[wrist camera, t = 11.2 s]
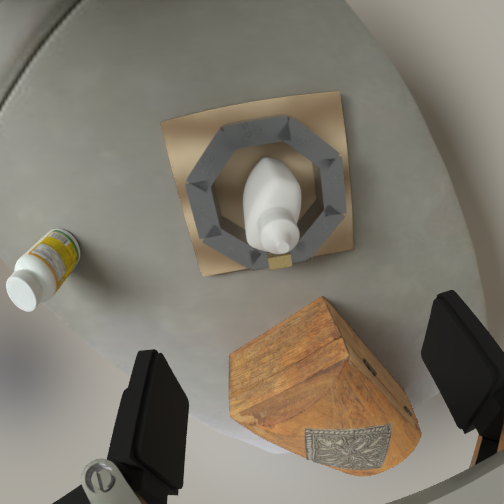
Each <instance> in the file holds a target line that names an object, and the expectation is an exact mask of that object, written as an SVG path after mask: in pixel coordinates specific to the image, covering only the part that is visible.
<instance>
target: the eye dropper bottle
mask: <svg viewBox="0 0 504 504" xmlns="http://www.w3.org/2000/svg"><path fill="white" fill-rule="evenodd" d="M243 209H244V221H245V231H246V238H247V242H248V243H249V245H250V246H252V247H253V248H256V249H259V250H262V251H267V252H271V253H273V254H284V253H287V252H289V251H291V250H292V249H293V248H294V247H295V246H296V244H298V241H299V237H300V236H299V235H300V234H299V233H300V232H299V229H298V226H297V221H298V218H299V214H300V209H301V188H300V185H299V183H298V182H297V180H296V178H295V177H294V175H293V174H292V172H291V171H290V170H289V168H288V167H287V165H286V164H285V163H284V162H282V161H280V160H277V159H274V158H271V157H264V158H262V159H261V160H260V161H259V162H258V163H257V164H256V165H255V166H254V168H253V169H252V171H251V172H250V174H249V176H248V178H247V181H246V184H245V188H244V194H243Z"/></svg>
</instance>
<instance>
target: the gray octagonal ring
mask: <svg viewBox="0 0 504 504" xmlns="http://www.w3.org/2000/svg"><path fill="white" fill-rule="evenodd" d="M280 141H284V142H285V143H287V144H288V145H289V146H291V147H292V148H294V149H295V150H296V151H298V152H299V153H301V154H302V155H303V156H305V157H306V158H307V159H309V160H310V161H311V162H312V167H313V175H314V183H315V192H316V200H315V201H314V202H313V204H312V205H311V206H310V208H309V209H308V210H307V211H306V213H305V214H304V215H303V216H302V218H301V219H300V220H299V221H298V223H297V226H298V229H299V232H300V233H299V234H300V235H299V236H300V237H299V241H298V244H296V246H295V247H294V248H293V249H292V250H291V251H289V252H287V253H284V254H273V253H271V252H267V251H262V250H259V249H256V248H253V247H252V246H250V245H249V243H248V242H247V238H246V231H245V229H243V228H241V227H240V226H238V225H237V224H235V223H233V222H232V221H230V220H228V219H227V218H225V217H223V216H222V213H221V209H220V205H219V200H218V196H217V192H216V188H215V183H214V181H215V179H216V178H217V176H218V175H219V173H220V172H221V170H222V169H223V168H224V166H225V165H226V163H227V162H228V160H229V159H230V157H231V156H232V154H233V153H234V152H235V150H236V149H240V148H245V147H250V146H256V145H262V144H268V143H274V142H280ZM339 154H340V153H339V152H337V151H336V150H335V149H334V148H332V147H331V146H330V145H329V144H327V143H326V142H325V141H324V140H322V139H321V138H320V137H318V136H317V135H316V134H315V133H313V132H312V131H311V130H309V129H308V128H307V127H305V126H304V125H303V124H301V123H300V122H298V121H297V120H296V119H294V118H293V117H292V116H288V115H284V114H278V115H271V116H265V117H259V118H253V119H247V120H242V121H237V122H231V123H226V124H224V126H223V127H222V126H221V127H220V129H219V130H218V132H217V133H216V134H215V136H214V137H213V139H212V140H211V142H210V143H209V145H208V146H207V148H206V149H205V151H204V153H203V154H202V156H201V157H200V159H199V160H198V162H197V163H196V165H195V166H194V168H193V170H192V171H191V173H190V174H189V176H188V178H187V179H186V181H187V182H186V184H185V187H186V191H187V195H188V198H189V202H190V206H191V210H192V213H193V217H194V221H195V225H196V228H197V232H198V235H199V239H203V240H202V243H204V244H206V245H208V246H209V247H211V248H213V249H214V250H216V251H218V252H220V253H221V254H223V255H225V256H227V257H228V258H230V259H232V260H233V261H235V262H237V263H239V264H240V265H242V266H244V267H246V268H247V269H250V268H251V267H253V270H257V269H263V268H270V270H274V269H280V268H285V267H291V266H292V263H296V262H302V261H307V257H309V258H310V259H311V257H312V256H313V255H314V254H315V253H316V251H317V250H318V249H319V248H320V247H321V245H322V244H323V243H324V242H325V241H326V240H327V238H328V237H329V236H330V235H331V234H332V232H333V231H334V230H335V229H336V227H337V226H338V225H339V224H340V223H341V221H342V220H343V219H344V218H345V216H344V215H343V214H344V213H347V212H346V197H345V184H344V173H343V162H342V157H341V156H339Z"/></svg>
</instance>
